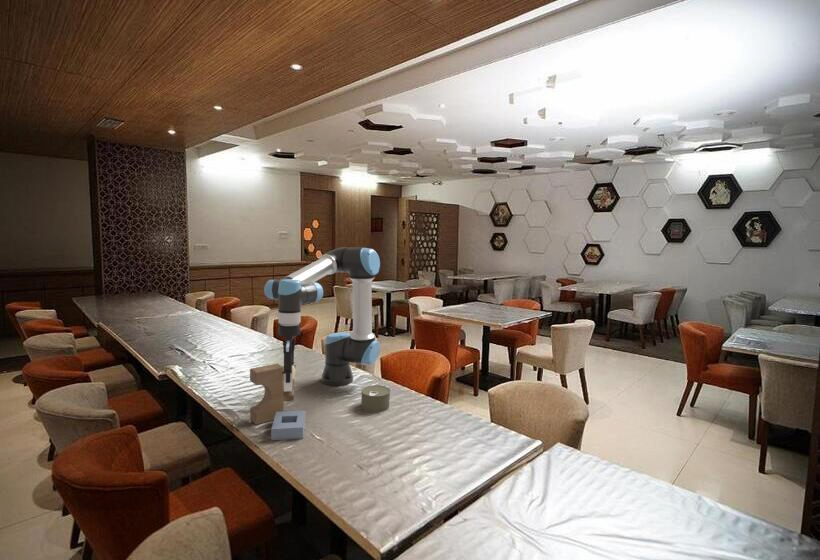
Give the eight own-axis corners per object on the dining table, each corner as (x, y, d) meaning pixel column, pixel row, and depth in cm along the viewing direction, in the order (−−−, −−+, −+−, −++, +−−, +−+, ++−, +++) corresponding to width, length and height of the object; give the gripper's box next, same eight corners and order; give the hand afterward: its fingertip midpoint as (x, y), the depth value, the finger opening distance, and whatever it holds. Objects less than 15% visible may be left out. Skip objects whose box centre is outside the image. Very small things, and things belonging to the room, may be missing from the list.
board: (305, 420, 156) (305, 410, 156) (303, 438, 143) (303, 427, 142) (276, 421, 154) (276, 411, 154) (271, 440, 141) (271, 429, 140)
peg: (294, 397, 149) (295, 364, 148) (293, 401, 145) (294, 368, 144) (283, 397, 149) (283, 365, 147) (282, 401, 145) (282, 368, 144)
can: (393, 403, 176) (394, 387, 175) (384, 414, 164) (384, 397, 164) (367, 399, 179) (367, 383, 178) (356, 410, 167) (356, 393, 167)
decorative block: (255, 425, 151) (254, 372, 149) (249, 419, 155) (249, 368, 153) (284, 417, 158) (284, 366, 156) (278, 412, 163) (278, 363, 160)
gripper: (281, 318, 152) (280, 380, 154) (275, 329, 135) (274, 398, 138) (302, 318, 153) (301, 380, 156) (298, 329, 137) (297, 397, 139)
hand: (288, 388), depth 147 cm, fingers closed on peg, 4 cm apart
